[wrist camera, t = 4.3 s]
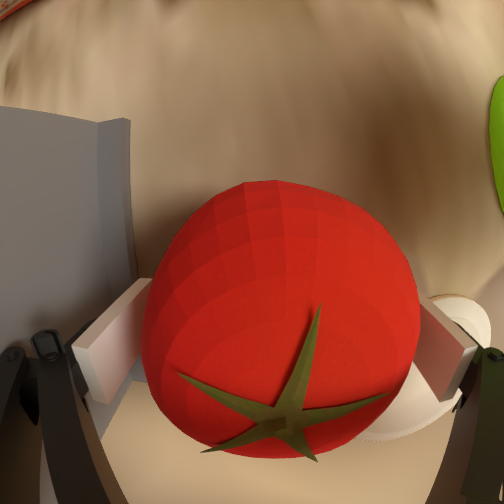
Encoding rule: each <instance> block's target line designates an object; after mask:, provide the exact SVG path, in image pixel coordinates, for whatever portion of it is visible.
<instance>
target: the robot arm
mask: <svg viewBox="0 0 504 504" xmlns="http://www.w3.org/2000/svg"><path fill="white" fill-rule="evenodd" d="M152 281H153V279H150V278H139V279H138V280H137V281H136V282H135V283H134V284H133V285H132V286H131V287H130V288H129V289H127V290H126V291H125V292H124V293H123V294H122V295H121V296H120V297H119V298H118V299H117V300H116V301H115V302H114V303H113V304H112V305H111V306H110V307H109V308H108V309H107V310H106V311H105V312H104V313H103V314H102V315H101V316H100V317H99V318H94V319H92V320H90V321H88V322H87V323H86V324H85V325H84V326H83V327H82V328H81V329H80V330H79V331H78V332H77V333H76V334H75V335H74V336H73V337H72V338H71V339H70V340H69V341H68V342H67V343H66V344H65V345H63V342H62V340H61V337H60V334H59V332H58V331H57V330H55V329H44V330H41V331H39V332H37V333H35V334H34V335H33V336H32V337H31V339H30V343H31V346H32V348H33V351H34V353H35V355H36V358H30V357H27V356H26V353H25V351H24V349H23V348H21V347H18V346H15V347H10V348H7V349H6V350H5V351H4V352H3V353H2V354H1V355H0V504H40V464H41V450H42V440H43V443H44V449H45V454H46V459H47V464H48V469H49V473H50V477H51V481H52V485H53V488H54V492H55V495H56V499H57V502H58V504H128V502H127V500H126V498H125V496H124V494H123V492H122V490H121V488H120V486H119V484H118V482H117V480H116V478H115V476H114V473H113V471H112V469H111V466H110V464H109V462H108V460H107V457H106V455H105V453H104V450H103V447H102V444H101V442H100V439H99V436H98V433H97V431H96V428H95V425H94V422H93V419H92V416H91V412H90V409H89V406H88V402H87V400H86V398H85V395H86V394H87V392H88V391H89V392H90V394H91V396H92V398H93V400H94V401H97V402H101V403H104V404H108V405H109V404H110V402H111V401H112V399H113V397H114V396H115V394H116V392H117V391H118V389H119V387H120V386H121V384H122V382H123V381H124V379H125V377H126V376H127V374H128V372H129V371H130V369H131V367H132V366H133V364H134V363H135V361H136V359H137V358H138V356H139V354H140V353H141V336H142V324H143V317H144V312H145V307H146V302H147V297H148V294H149V291H150V288H151V284H152ZM417 292H418V297H419V302H420V330H421V331H420V335H419V339H418V343H417V347H416V350H415V354H414V357H413V363H414V364H415V365H416V367H417V368H418V370H419V371H420V373H421V374H422V376H423V378H424V379H425V381H426V382H427V384H428V385H429V387H430V388H431V390H432V391H433V393H434V395H435V396H436V398H437V399H438V401H439V403H440V402H444V401H447V400H450V399H453V397H454V395H455V393H456V392H457V390H458V388H459V389H460V390H461V392H462V394H461V396H460V398H459V400H458V401H457V403H456V405H455V406H454V408H453V410H452V412H454V411H455V409H457V410H456V415H455V419H454V423H453V427H452V431H451V435H450V438H449V441H448V445H447V448H446V451H445V454H444V457H443V461H442V463H441V466H440V469H439V471H438V474H437V477H436V479H435V482H434V484H433V487H432V489H431V492H430V494H429V496H428V498H427V501H426V503H425V504H504V354H503V352H502V351H500V350H499V349H496V348H492V347H487V348H485V349H484V348H483V347H482V346H481V345H480V344H479V343H478V342H477V341H476V340H475V339H474V338H473V337H472V336H471V335H469V333H468V332H467V331H465V329H464V328H463V327H462V326H461V325H459V324H458V323H456V322H454V321H453V320H451V319H450V318H449V317H448V316H447V315H446V314H445V313H444V312H443V311H441V310H440V309H439V308H438V307H437V306H436V305H435V304H434V303H433V302H431V301H430V300H429V299H428V298H427V297H426V296H425V295H424V294H422V293H421V292H420V291H419V290H418V289H417ZM501 485H503V495H502V501H500V500H499V494H500V489H501Z"/></svg>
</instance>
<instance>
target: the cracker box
mask: <svg viewBox="0 0 504 504" xmlns="http://www.w3.org/2000/svg"><path fill="white" fill-rule="evenodd" d="M31 1H33V0H0V21H1V20H3V19H4V18H5V17H7V16H8V15H10V14H11V13H13V12H15V11H16V10H18V9H19V8H21V7H23V6H24V5H26V4H28V3H29V2H31Z"/></svg>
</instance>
